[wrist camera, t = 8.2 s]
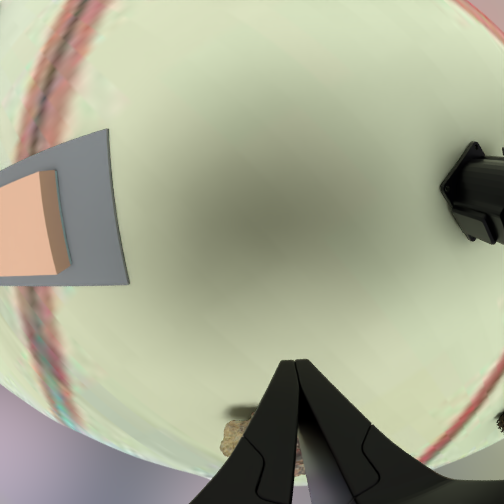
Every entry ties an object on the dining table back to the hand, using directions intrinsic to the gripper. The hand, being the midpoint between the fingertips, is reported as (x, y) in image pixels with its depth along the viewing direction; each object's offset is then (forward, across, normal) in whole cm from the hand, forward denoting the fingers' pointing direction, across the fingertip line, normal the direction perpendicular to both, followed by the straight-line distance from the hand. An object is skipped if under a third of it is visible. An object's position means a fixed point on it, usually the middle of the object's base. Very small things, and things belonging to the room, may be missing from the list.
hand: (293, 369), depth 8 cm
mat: (+11, +22, -4) cm, 25 cm away
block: (+10, +17, -4) cm, 20 cm away
